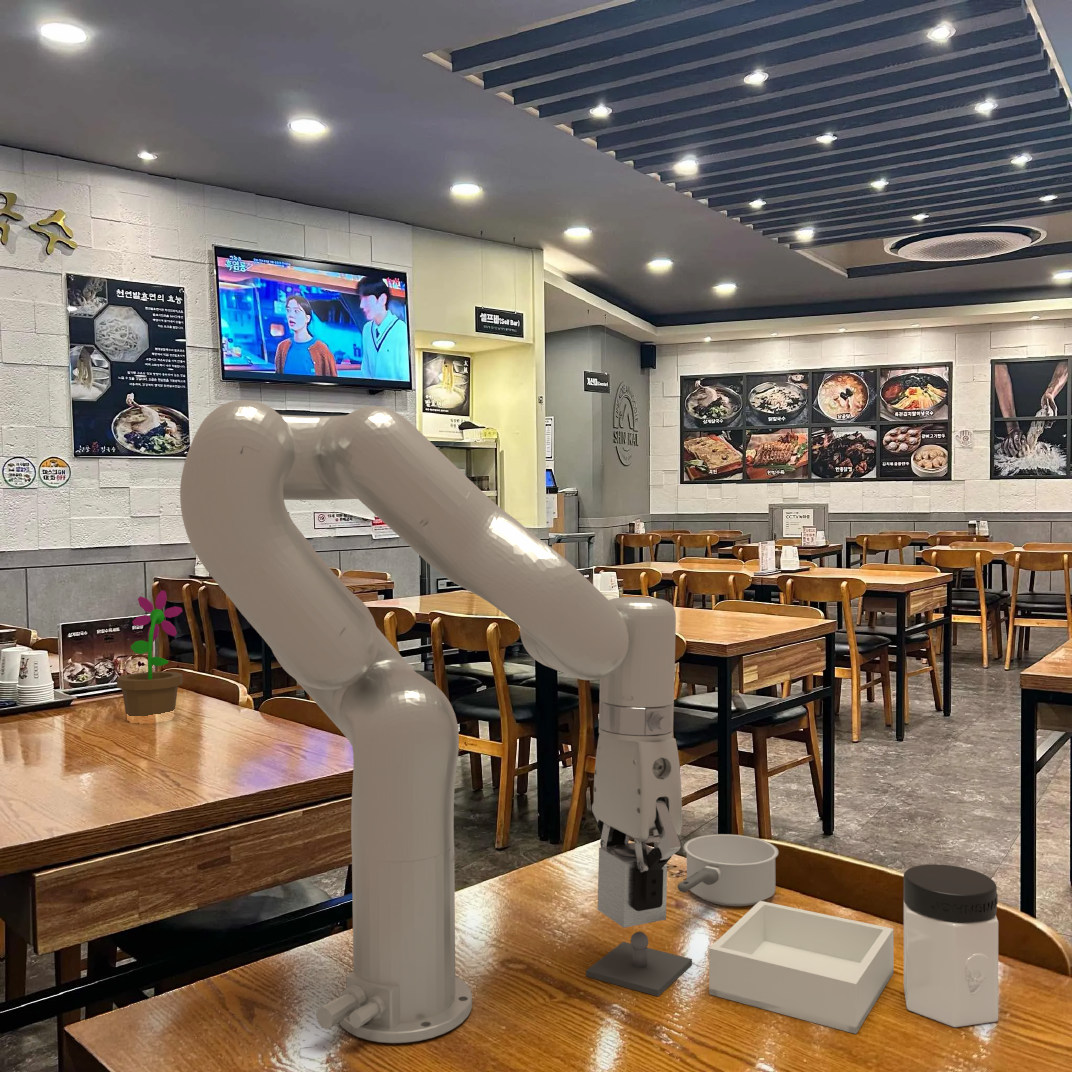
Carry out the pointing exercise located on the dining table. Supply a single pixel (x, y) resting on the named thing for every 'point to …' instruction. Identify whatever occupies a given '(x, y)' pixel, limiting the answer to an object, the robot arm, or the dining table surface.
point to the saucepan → (730, 869)
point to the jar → (951, 944)
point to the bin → (803, 965)
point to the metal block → (623, 887)
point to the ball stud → (639, 966)
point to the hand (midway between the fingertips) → (631, 896)
